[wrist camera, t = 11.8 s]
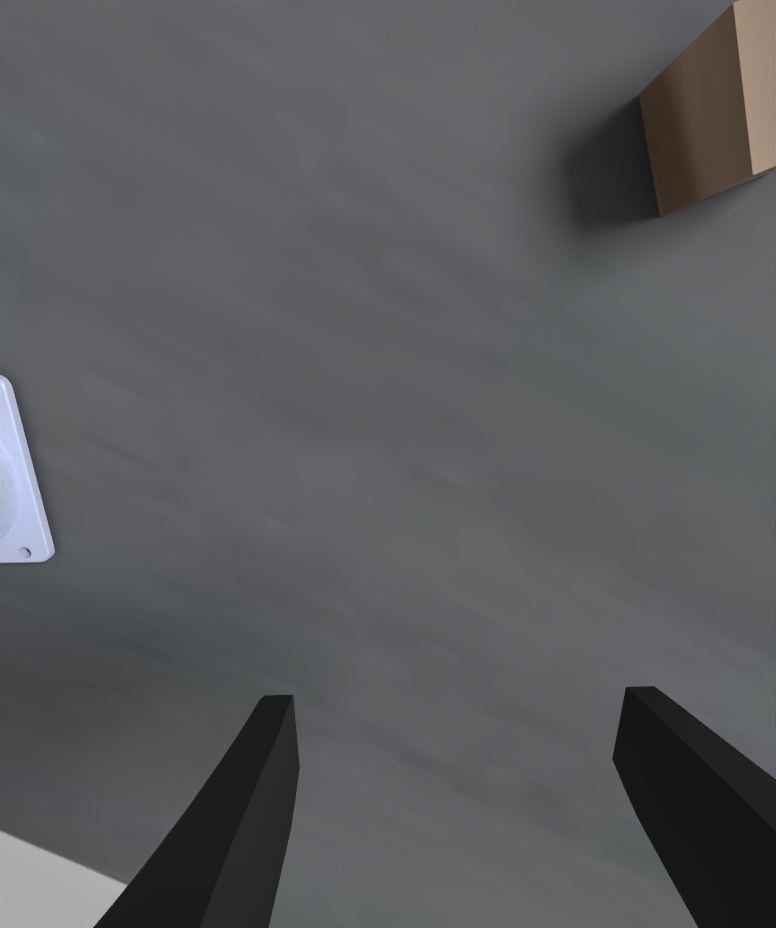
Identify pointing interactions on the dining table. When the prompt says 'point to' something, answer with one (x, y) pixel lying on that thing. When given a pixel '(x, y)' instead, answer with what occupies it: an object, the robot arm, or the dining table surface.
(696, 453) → the dining table surface
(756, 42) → the walnut block
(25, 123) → the dining table surface
